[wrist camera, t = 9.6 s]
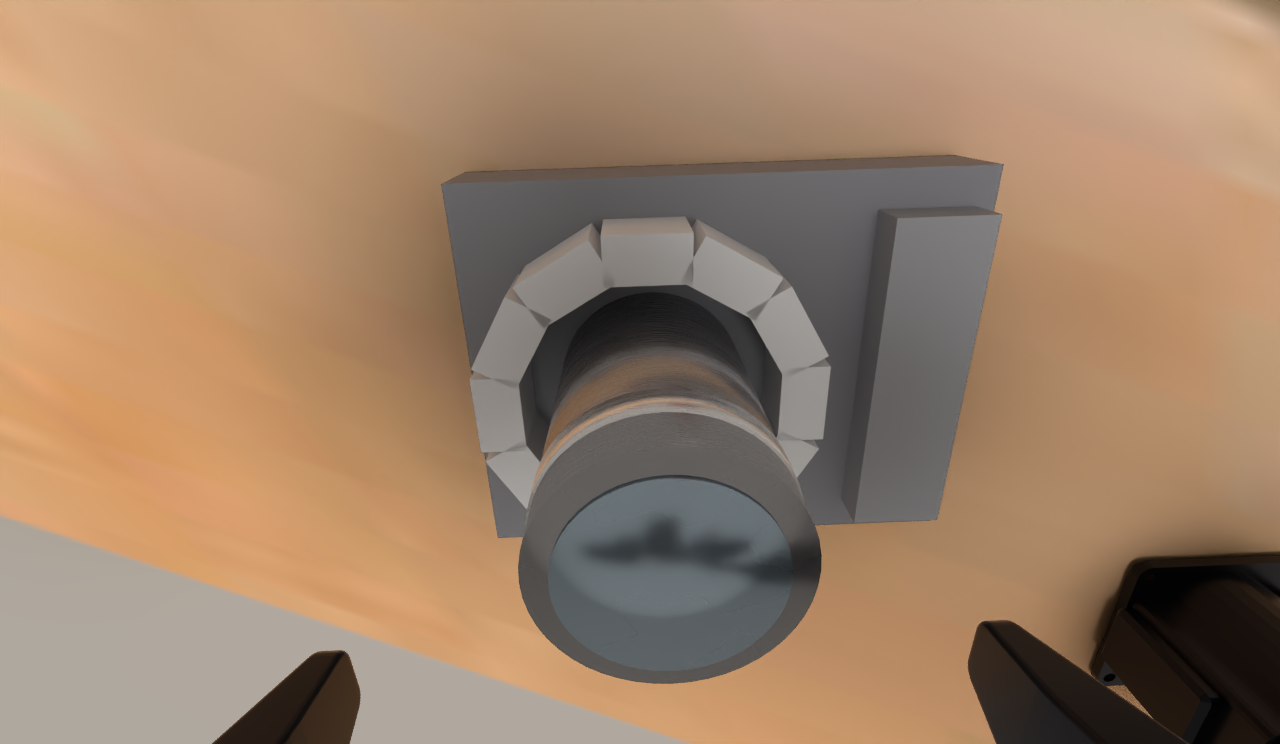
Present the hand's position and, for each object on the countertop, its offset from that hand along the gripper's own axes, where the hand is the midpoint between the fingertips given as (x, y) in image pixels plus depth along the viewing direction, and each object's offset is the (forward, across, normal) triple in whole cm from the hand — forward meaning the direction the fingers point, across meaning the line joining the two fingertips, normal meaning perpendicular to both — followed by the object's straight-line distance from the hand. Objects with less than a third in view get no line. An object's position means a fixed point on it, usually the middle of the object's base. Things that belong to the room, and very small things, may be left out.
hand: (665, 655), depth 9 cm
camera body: (+12, -2, 0) cm, 12 cm away
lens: (+10, 0, 0) cm, 10 cm away
